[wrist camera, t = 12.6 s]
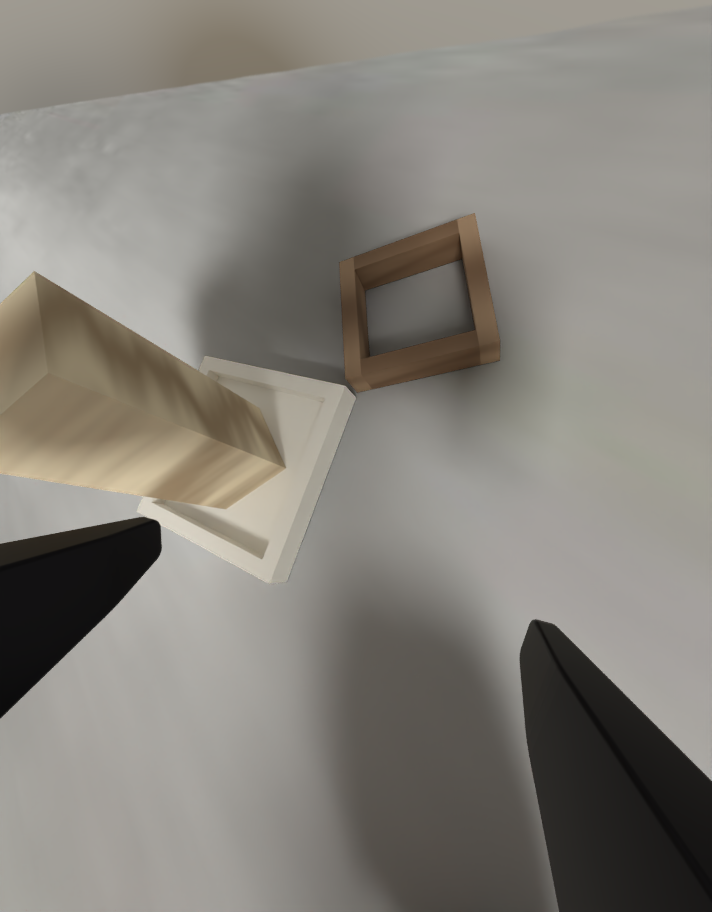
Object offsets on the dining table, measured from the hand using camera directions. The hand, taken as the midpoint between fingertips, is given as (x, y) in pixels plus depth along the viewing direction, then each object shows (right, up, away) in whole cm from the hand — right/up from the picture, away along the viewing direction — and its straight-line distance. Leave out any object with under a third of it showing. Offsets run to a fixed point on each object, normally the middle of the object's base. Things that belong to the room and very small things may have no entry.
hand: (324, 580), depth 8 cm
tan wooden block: (-7, +3, +15) cm, 17 cm away
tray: (-6, +3, +16) cm, 18 cm away
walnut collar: (+5, +12, +14) cm, 19 cm away
